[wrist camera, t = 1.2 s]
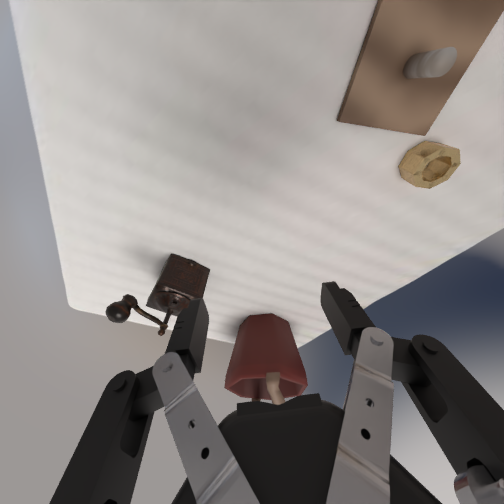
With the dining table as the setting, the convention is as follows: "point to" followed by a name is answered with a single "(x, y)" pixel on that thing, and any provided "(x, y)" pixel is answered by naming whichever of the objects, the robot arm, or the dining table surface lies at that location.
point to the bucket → (266, 361)
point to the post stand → (415, 61)
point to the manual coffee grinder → (166, 292)
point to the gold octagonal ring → (437, 170)
